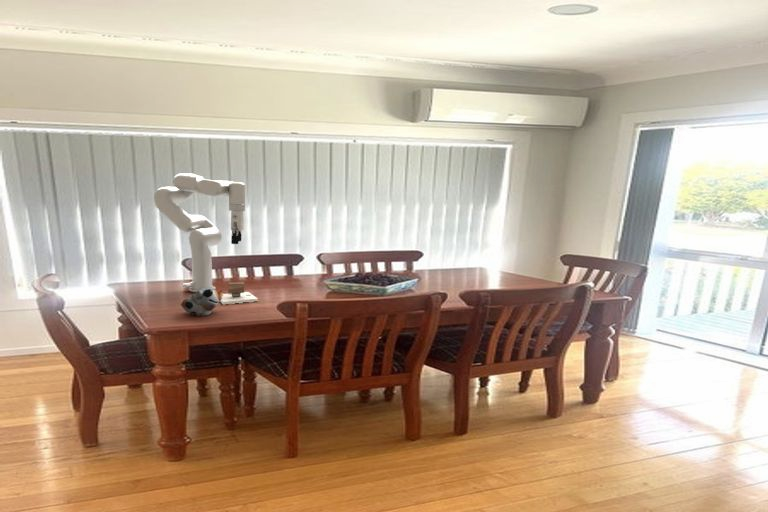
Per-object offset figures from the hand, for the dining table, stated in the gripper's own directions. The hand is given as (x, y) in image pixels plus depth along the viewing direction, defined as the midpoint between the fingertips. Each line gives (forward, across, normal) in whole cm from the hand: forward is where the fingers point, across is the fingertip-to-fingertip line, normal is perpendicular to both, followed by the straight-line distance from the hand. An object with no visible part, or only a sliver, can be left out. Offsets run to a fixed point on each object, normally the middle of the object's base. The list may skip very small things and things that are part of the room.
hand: (236, 242), depth 250 cm
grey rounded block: (+26, -36, +8) cm, 45 cm away
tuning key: (+24, -9, -1) cm, 26 cm away
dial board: (+26, -12, -2) cm, 29 cm away
